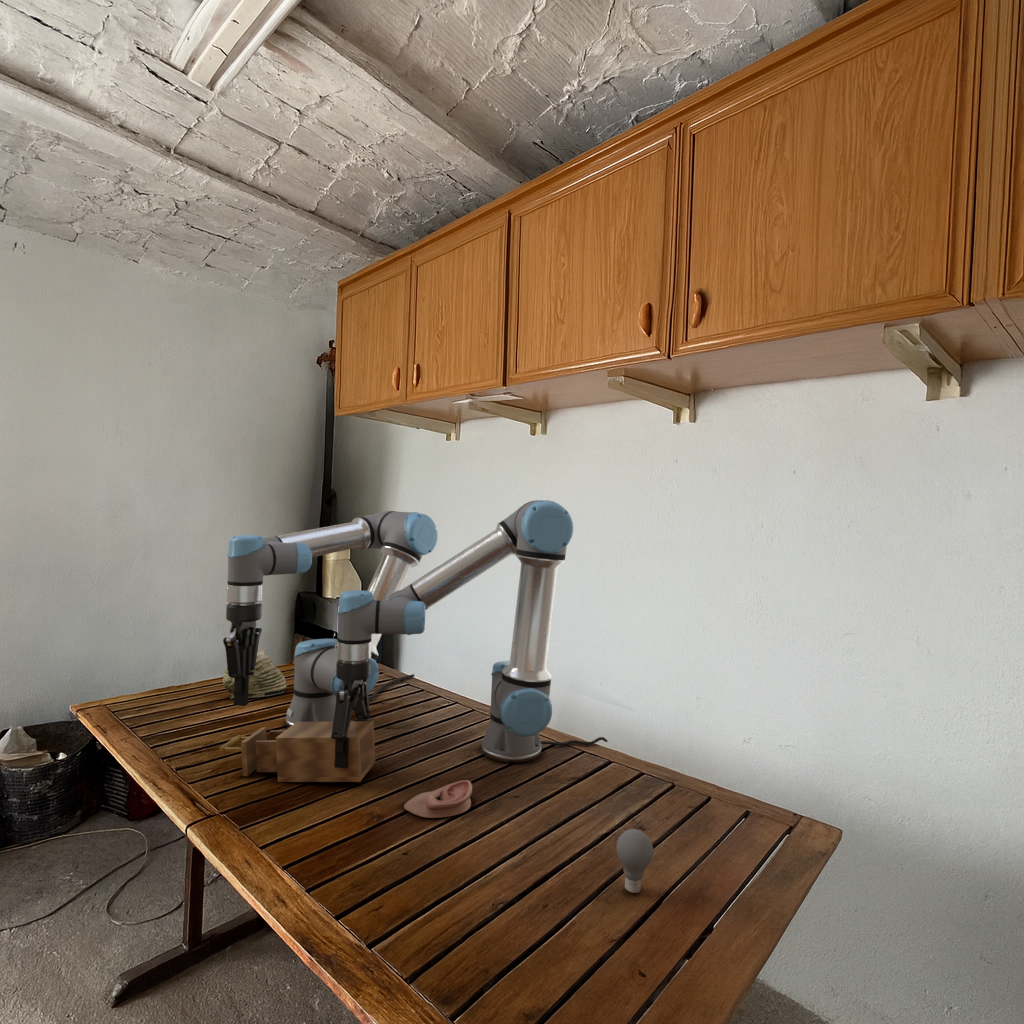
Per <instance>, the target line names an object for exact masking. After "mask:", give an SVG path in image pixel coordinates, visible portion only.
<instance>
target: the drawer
mask: <svg viewBox="0 0 1024 1024" xmlns="http://www.w3.org/2000/svg"><path fill="white" fill-rule="evenodd" d="M285 730H286V729H282V730H281V729H275V730H274V729H272V730H269V740H268V732H267V726H265V727H264V726H263V727H260V728H258V730H256V731H254V732H253V733H252V734H250V735H248V736H242V735H241V734H238V735H236V736H235V737H233V738H232V739H230V740H229V741H227V742H226V743H224V744H223V745H221V746H219V748H218V752H219V753H220V754H223V753H225V752H235V751H236V752H241V766H242V767H241V769H242V777H248V776H250V775H251V774H252V773H253V772H255V771H256V773H277V755H276V737H278V736H279V735H280V734H281V733H283V732H284V731H285ZM240 741H241V742H240ZM238 742H240V747H238V746H237V747H236V746H235V745H236V744H237V743H238ZM233 746H235V747H233Z"/></svg>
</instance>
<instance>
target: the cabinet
mask: <svg viewBox="0 0 1024 1024" xmlns="http://www.w3.org/2000/svg"><path fill="white" fill-rule="evenodd" d="M332 728H333V721H325V722H296V723H294V724H293V725H292V726H291V727H289V728H288V727H287V728H286V729H284V730H285V731H284V732H283V733H281V734H280V735H279V736H278V737H276V755H277V772H276V774H277V783H361V782H362V780H363V779H364V778H365V777H366V775H367V774H368V772H369V771H370V770H371V769H372V767H373V766H374V765H375V764H376V746H375V744H376V743H375V726H374V720H366V721H354V720H350V725H349V730H348V734H347V737H349V746H348V767H347V768H335V739H332V738H331V735H332Z"/></svg>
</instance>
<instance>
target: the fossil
mask: <svg viewBox="0 0 1024 1024" xmlns="http://www.w3.org/2000/svg"><path fill="white" fill-rule="evenodd" d="M251 672H254V674H253V675H249V692H248V699H250V698H264V697H271V696H275V695H281V694H284V693H285V691H286V689H287V687H288V686H287V680H286V678H285V676H284V674H283V673H282V672H281V669H279V668H278V667H277V665H276V663H275V662H274V660H273V659H272V658H271V657H270V656H269V655H268V654H267V653H266V652H265V650H264V649H263V648H260V647H258V651H257V658H256V664H255V669H254V670H251ZM222 676H223V677H222V685H223V687H224V688H225V690H226V691H228V693H229V698H230V699H234V678H233V677H229V676H228V667H227V664H226V666H225V668H224V671H223V675H222Z"/></svg>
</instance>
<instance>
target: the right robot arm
mask: <svg viewBox="0 0 1024 1024" xmlns="http://www.w3.org/2000/svg"><path fill="white" fill-rule="evenodd" d="M573 535H574V521H573V519H572V516H571V514H570V512H569V511H568V510H567V509H566V508H565V507H564V506H563V505H561V504H560V503H557V502H555V501H553V500H550V499H549V500H548V499H546V500H543V499H541V500H539V499H538V500H537V499H536V500H530V501H528V502H525V503H523V504H522V505H520V506H519V508H517V509H516V510H515V511H514V512H512V513H510V515H508V516H507V517H506V518H504V519H503V520H501V521H500V522H497V524H496V527H495V530H493V531H491V532H490V533H488V534H487V535H485V536H483V537H482V538H481V539H479V540H477V541H475V542H474V543H472V544H471V545H469V546H467V548H465V549H463V550H461V551H460V552H459V553H457V554H455V555H454V556H452V557H450V558H449V559H447V560H446V561H444V562H443V563H441V564H439V565H438V566H436V567H435V568H434V569H432V570H430V571H429V572H427V573H426V574H424V575H422V576H420V577H419V578H417V579H416V580H414V581H413V582H412V583H410V584H409V585H407V586H405V587H403V588H402V590H399V591H396V592H394V593H393V594H392V595H390V597H389V598H388V600H387V601H377V600H374V598H373V594H372V592H370V591H367V590H361V589H354V590H345V591H343V592H342V593H341V594H339V599H338V608H337V609H338V611H337V635H336V637H337V638H336V639H337V644H336V645H335V647H336V648H337V659H338V661H337V663H336V677H337V678H338V679H341V680H342V681H343V686H342V689H341V691H337V693H336V707H335V714H334V721H333V728H332V735H331V738H332V739H335V768H347V767H348V746H349V737H347V734H348V730H349V725H350V721H352V715H353V712H354V717H355V718H354V719H353V721H367V720H370V718H371V714H370V700H369V697H370V695H369V694H368V677H369V676H370V668H371V661H370V660H369V659H370V658H371V642H372V641H371V636H372V634H382V635H407V636H411V635H421V634H423V633H424V632H425V629H426V611H427V610H428V609H430V608H431V607H433V606H434V605H436V604H437V603H439V602H441V601H442V600H444V599H445V598H447V597H448V596H450V595H451V594H453V593H454V592H456V591H458V590H459V589H461V588H463V587H464V586H465V585H467V584H469V583H470V582H472V581H473V580H475V579H476V578H478V577H479V576H481V575H483V574H484V573H486V572H487V571H489V570H491V569H492V568H494V567H496V566H497V565H499V564H500V563H501V562H503V561H506V560H507V559H508V558H509V557H511V556H515V557H516V558H517V559H518V560H519V562H520V570H519V571H520V572H519V580H518V588H517V597H516V605H515V616H514V623H513V631H512V641H511V649H510V658H509V660H501V661H497V662H494V664H492V671H491V672H490V673H491V674H490V675H491V690H490V691H491V692H490V717H489V722H488V725H487V727H486V731H485V733H484V736H483V739H482V742H481V752H482V754H483V756H485V757H487V758H488V759H490V760H493V761H496V762H500V763H507V764H522V763H529V762H532V761H535V760H537V759H538V758H539V757H540V756H541V755H542V745H551V746H566V745H570V744H578V745H584V746H590V745H595V744H597V743H598V742H599V741H603V742H604V743H608V742H609V741H608V740H607V738H605V737H603V736H599V737H597V738H595V739H593V740H592V741H591V740H590V741H582V740H575V739H572V740H571V739H570V740H567V741H562V742H557V741H548V740H547V741H546V740H541V738H540V735H539V734H540V733H541V732H543V731H544V730H546V728H547V727H548V725H549V724H550V722H551V720H552V716H553V703H552V700H551V699H550V694H551V684H552V674H551V673H550V672H549V671H548V668H547V663H548V662H547V661H548V653H549V645H550V637H551V636H550V635H551V628H552V619H553V610H554V602H555V595H556V594H555V593H556V584H557V576H558V569H559V567H560V566H561V565H562V564H563V563H565V562H566V555H567V546H568V545H569V544H570V543H571V541H572V537H573Z"/></svg>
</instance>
